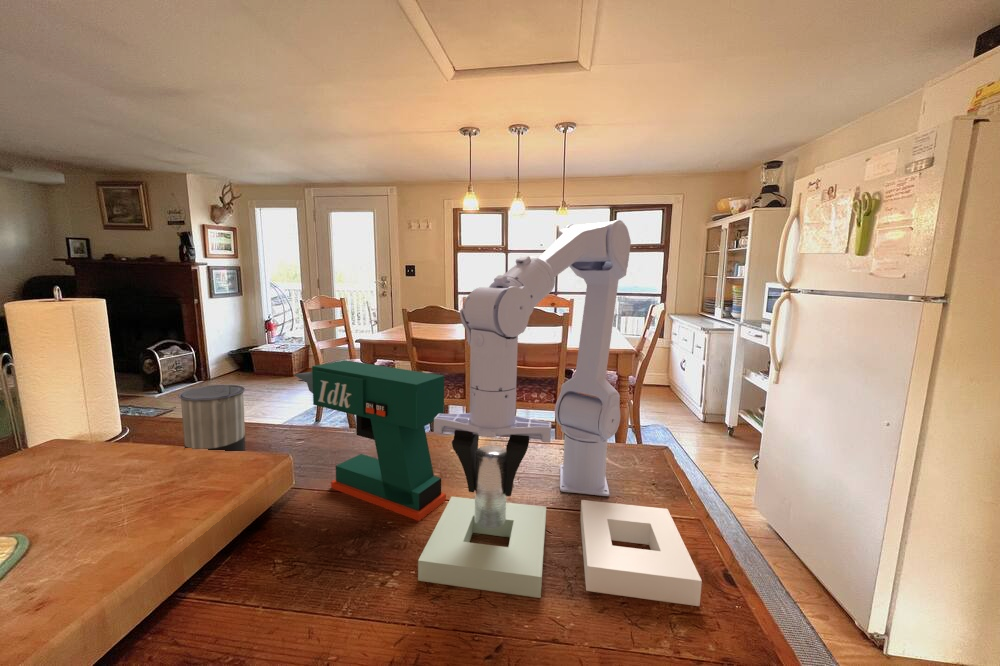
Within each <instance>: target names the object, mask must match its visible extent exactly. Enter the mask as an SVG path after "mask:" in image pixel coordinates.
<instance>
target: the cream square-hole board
mask: <svg viewBox="0 0 1000 666" xmlns="http://www.w3.org/2000/svg"><path fill="white" fill-rule="evenodd" d="M579 519H580V529H581V530H580V531H581V543H582V545H581V546H582V554H583V555H582V556H583V567H584V570H583V571H584V582H585V591H586V592H591V593H592V592H593V593H598V594H599V593H600V594H607V595H608V594H609V595H614V596H621V597H622V596H623V597H630V598H637V599H644V600H650V601H656V602H657V601H658V602H663V603H671V604H672V603H673V604H681V605H687V606H694V607H695V606H696V607H700V605H701V596H702V595H701V594H702V584H703V581H702V578H701V576H700V574H699V572H698V569H697V568H696V566H695V563H694V562H693V560H692V557H691V554H690V553H689V551H688V549H687V546H686V545H685V543H684V540H683V538H682V536H681V534H680V532H679V530H678V528H677V525H676V523H675V522H674V519H673V517H672V516H671V514H670V511H669V509H668V508H661V507H652V506H644V505H634V504H624V503H615V502H606V501H597V500H587V499H586V500H585V499H581V501H580V518H579ZM612 541H613V542H615V541H616V542H621V543H622V542H624V543H631V544H640V545H641V544H642V545H647V546H649V548H650V549H645V548H643V549H642V548H637V547H636V548H635V547H627V546H620V545H613V543H612Z"/></svg>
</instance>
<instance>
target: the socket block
mask: <svg viewBox="0 0 1000 666" xmlns="http://www.w3.org/2000/svg"><path fill="white" fill-rule="evenodd" d="M546 520H547V506H543V505H533V504H525V503H524V504H523V503H516V502H507V501H506V521H505V523H504V525H502V526H501V527H498V528H495V529H486V528H482V527H480V526H478V525H477V524H476V523H475V498H468V497H459V496H450V498H449V501H448V502H447V505H446V506H445V508H444V510H443V512H442V514H441V516H440V518H439V520H438V522H437V524H436V526H435V528H434V529H433V531H432V533H431V535H430V537H429V539H428V541H427V543H426V545H425V546H424V548H423V551H422V552H421V554H420V556H419V558H418V560H417V581H418V582H419V581H420V582H427V583H432V584H440V585H448V586H453V587H461V588H468V589H474V590H481V591H489V592H496V593H503V594H509V595H515V596H523V597H530V598H539V599H541V598H542V585H543V583H542V582H543V570H544V569H543V568H544V567H543V566H544V552H545V538H546ZM473 534H479V535H480V534H481V535H489V536H497V537H504V538H505V537H506V538H509V542H508V546H499V545H493V544H492V545H491V544H484V543H476V542H470V541H471V539H472V535H473Z"/></svg>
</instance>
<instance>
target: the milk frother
mask: <svg viewBox="0 0 1000 666" xmlns="http://www.w3.org/2000/svg"><path fill="white" fill-rule="evenodd" d="M245 390H246V387H244V386H242V385H238V384H237V385H236V384H215V385H213V384H212V385H205V386H200V387H193V388H190V389H186V390H185V391H182V392H180V393H179V394H178V396H177V397H178V398H179V399H180V402H181V403H180V405H181V416H182V417H181V419H182V431H183V443H184V446H183V447H184V449H185V448H192V449H208V450H225V451H246V450H247V449H246V435H245V433H246V428H245V404H244V403H245V401H244V392H245ZM246 452H247V451H246Z"/></svg>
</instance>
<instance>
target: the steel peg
mask: <svg viewBox="0 0 1000 666" xmlns="http://www.w3.org/2000/svg"><path fill="white" fill-rule="evenodd" d="M506 476H507V455H506V448H504V447H502V446H498V445H485V446H481V447H478V449H477V450H476V469H475V491H474V499H475V523H476V524H477V525H478V526H480V527H482V528H486V529H495V528H498V527H501V526H502V525H504V523H505V521H506V502H507V496H505V485H506Z"/></svg>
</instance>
